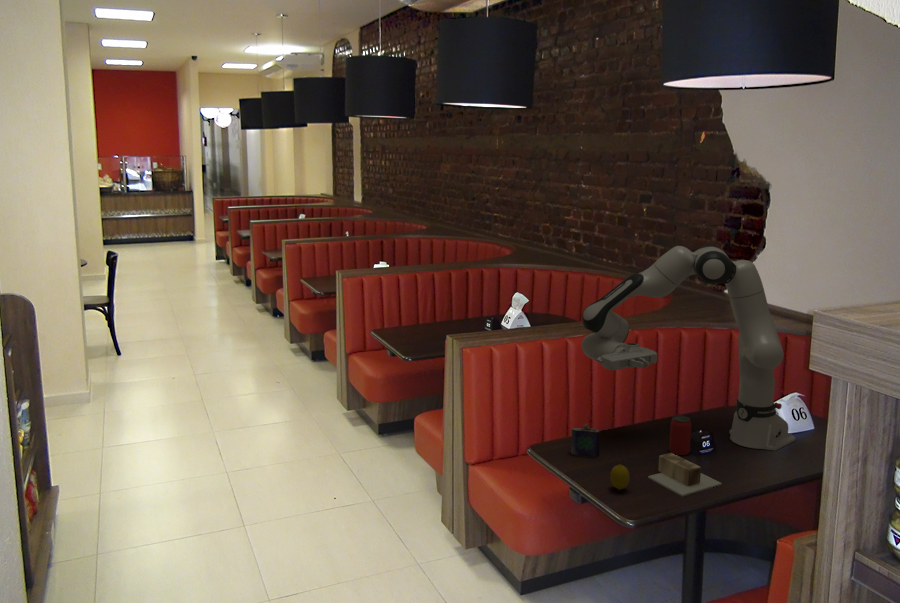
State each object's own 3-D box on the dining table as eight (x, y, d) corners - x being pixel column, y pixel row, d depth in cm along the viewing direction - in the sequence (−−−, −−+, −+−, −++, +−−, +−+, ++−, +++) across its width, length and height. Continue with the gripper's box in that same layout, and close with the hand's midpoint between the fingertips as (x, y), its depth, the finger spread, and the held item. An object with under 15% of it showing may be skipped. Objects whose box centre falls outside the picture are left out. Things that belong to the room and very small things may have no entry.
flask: (570, 455, 235) (571, 424, 233) (571, 452, 237) (572, 421, 235) (599, 458, 232) (600, 427, 230) (599, 454, 235) (600, 423, 233)
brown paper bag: (671, 452, 222) (701, 467, 212) (670, 467, 223) (700, 483, 213) (659, 455, 220) (689, 470, 209) (658, 470, 221) (688, 486, 210)
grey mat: (686, 467, 225) (686, 465, 225) (721, 485, 213) (721, 483, 212) (648, 478, 218) (648, 476, 217) (682, 496, 205) (682, 494, 205)
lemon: (615, 495, 207) (616, 469, 205) (606, 487, 212) (607, 462, 210) (632, 492, 208) (633, 467, 206) (622, 484, 213) (624, 459, 212)
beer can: (690, 456, 233) (693, 422, 230) (670, 455, 234) (672, 420, 232) (688, 449, 239) (690, 415, 237) (668, 447, 240) (670, 413, 238)
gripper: (593, 350, 238) (621, 360, 226) (640, 342, 247) (669, 352, 235) (592, 368, 239) (620, 379, 227) (639, 360, 248) (668, 370, 236)
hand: (645, 365), depth 231 cm, fingers closed
